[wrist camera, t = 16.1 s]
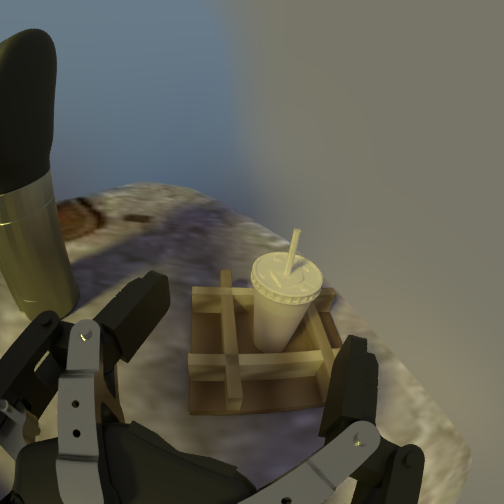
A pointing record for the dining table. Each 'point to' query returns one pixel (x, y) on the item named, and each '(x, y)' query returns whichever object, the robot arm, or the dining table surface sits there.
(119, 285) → the dining table surface
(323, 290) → the wooden grid tray
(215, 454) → the dining table surface
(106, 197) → the dining table surface
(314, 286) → the smoothie
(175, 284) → the dining table surface
